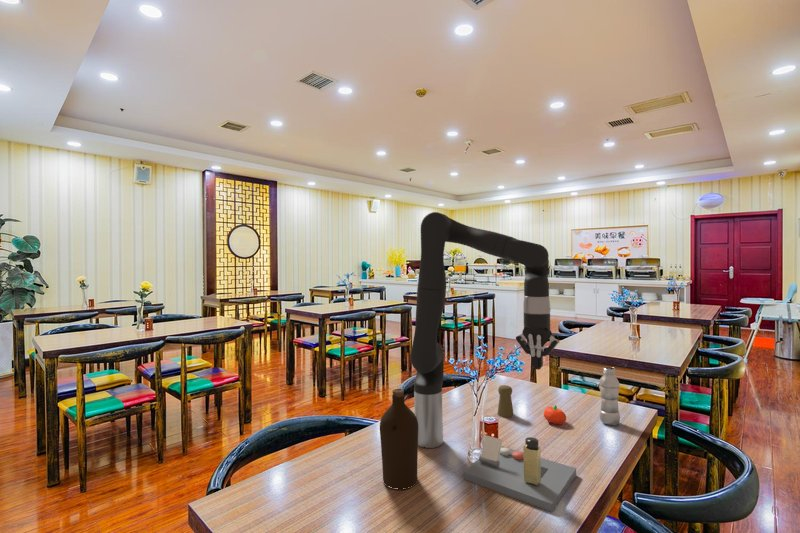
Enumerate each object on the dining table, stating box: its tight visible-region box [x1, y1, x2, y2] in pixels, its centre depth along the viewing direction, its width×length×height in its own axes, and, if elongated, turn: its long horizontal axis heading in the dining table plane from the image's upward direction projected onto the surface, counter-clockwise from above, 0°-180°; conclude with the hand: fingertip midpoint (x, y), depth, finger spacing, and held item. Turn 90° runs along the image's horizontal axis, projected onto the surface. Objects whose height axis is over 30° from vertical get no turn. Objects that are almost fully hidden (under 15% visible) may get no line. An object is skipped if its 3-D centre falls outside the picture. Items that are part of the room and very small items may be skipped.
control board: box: [463, 445, 577, 513], centre depth 111 cm, size 24×20×3 cm
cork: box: [497, 384, 515, 419], centre depth 154 cm, size 6×6×11 cm
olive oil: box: [379, 388, 419, 489], centre depth 110 cm, size 11×11×25 cm
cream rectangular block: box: [478, 434, 503, 467], centre depth 115 cm, size 6×2×7 cm, turn 51°
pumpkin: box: [543, 404, 567, 425], centre depth 147 cm, size 7×8×6 cm
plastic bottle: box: [598, 366, 621, 426], centre depth 144 cm, size 6×7×20 cm
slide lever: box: [522, 437, 542, 486], centre depth 104 cm, size 4×3×11 cm
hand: (537, 368), depth 121 cm, fingers closed
